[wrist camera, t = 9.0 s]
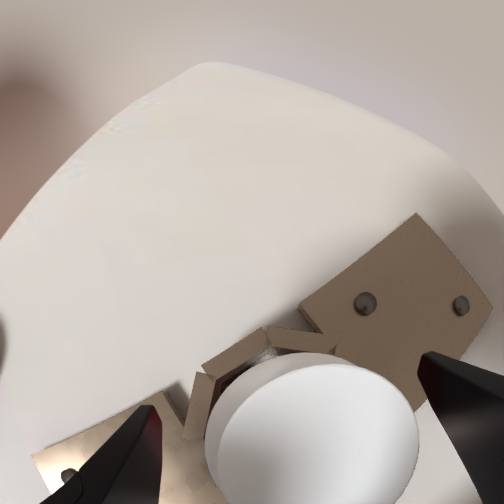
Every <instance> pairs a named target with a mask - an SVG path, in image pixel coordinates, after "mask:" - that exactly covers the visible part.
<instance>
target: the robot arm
mask: <svg viewBox="0 0 504 504" xmlns="http://www.w3.org/2000/svg"><path fill="white" fill-rule="evenodd" d="M417 376H418V379H419V381H420V383H421V385H422V387H423V390H424V392H425V394H426V396H427V398H428V400H429V403H430V405H431V407H432V409H433V411H434V413H435V414H436V416H437V418H438V419H439V421H440V423H441V424H442V426H443V428H444V430H445V431H446V433H447V435H448V437H449V438H450V440H451V442H452V444H453V446H454V447H455V449H456V451H457V453H458V455H459V457H460V458H461V460H462V462H463V464H464V466H465V468H466V470H467V472H468V474H469V476H470V478H471V479H472V481H473V483H474V485H475V487H476V489H477V492H478V494H479V496H480V498H481V500H482V502H483V504H504V376H502V375H499V374H496V373H494V372H491V371H488V370H485V369H482V368H479V367H476V366H473V365H471V364H468V363H465V362H462V361H459V360H457V359H454V358H451V357H448V356H445V355H443V354H440V353H437V352H434V351H429V352H426V353H424V354H422V356H421V358H420V362H419V366H418V370H417ZM162 461H163V458H162V421H161V419H160V417H159V415H158V412H157V410H156V408H155V406H154V405H153V404H141V405H140V406H139V407H138V408H137V409H136V410H135V411H134V412H133V413H132V414H131V415H130V416H129V417H128V418H127V419H126V421H125V422H124V423H123V424H122V425H121V426H120V427H119V428H118V429H117V430H116V431H115V432H114V433H113V434H112V435H111V436H110V437H109V438H108V440H107V441H106V442H105V443H104V444H103V445H102V446H101V447H100V448H99V449H98V450H97V451H96V452H95V453H94V454H93V455H92V456H91V457H90V458H89V459H88V460H87V461H86V462H85V463H84V464H83V465H82V466H81V467H80V469H79V471H76V472H75V474H74V475H73V476H72V477H71V478H70V479H68V480H67V481H66V482H65V483H64V484H63V485H62V486H61V487H60V488H59V489H57V490H56V491H55V492H54V493H53V494H51V495H50V496H49V497H48V498H46V499H45V500H44V501H42V502H41V503H40V504H159V495H160V485H161V475H162Z"/></svg>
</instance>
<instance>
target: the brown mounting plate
mask: <svg viewBox="0 0 504 504" xmlns="http://www.w3.org/2000/svg"><path fill="white" fill-rule="evenodd" d="M492 309H493V307H492V305H491V304H490V302H489V301H488V299H487V298H486V297H485V295H484V294H483V292H482V291H481V290H480V288H479V287H478V286H477V284H476V283H475V282H474V280H473V279H472V278H471V276H470V275H469V274H468V272H467V271H466V270H465V269H464V267H463V266H462V265H461V264H460V262H459V261H458V260H457V259H456V258H455V256H454V255H453V254H452V253H451V251H450V250H449V249H448V248H447V247H446V246H445V244H444V243H443V242H442V241H441V240H440V239H439V238H438V236H437V235H436V234H435V233H434V232H433V231H432V230H431V229H430V227H429V226H428V225H427V224H426V223H425V222H424V221H423V220H422V219H421V218H420V217H419V216H418V215H417V214H416V213H415V214H414V215H413V216H412V217H411V218H409V219H408V220H407V221H406V222H405V223H403V224H402V225H401V226H400V227H399V228H397V229H396V230H395V231H394V232H393V233H391V234H390V235H389V236H388V237H386V238H385V239H384V240H383V241H381V242H380V243H379V244H378V245H376V246H375V247H374V248H373V249H371V250H370V251H369V252H368V253H366V254H365V255H364V256H362V257H361V258H360V259H359V260H357V261H356V262H355V263H353V264H352V265H351V266H350V267H348V268H347V269H346V270H344V271H343V272H342V273H340V274H339V275H338V276H336V277H335V278H334V279H332V280H331V281H330V282H328V283H327V284H326V285H324V286H323V287H321V288H320V289H319V290H317V291H316V292H315V293H313V294H312V295H310V296H309V297H308V298H306V299H305V300H303V301H302V302H301V303H300V304H299V306H298V310H299V311H300V312H301V314H302V315H303V316H304V317H305V319H306V320H307V321H308V322H309V324H310V325H311V326H312V328H313V329H314V330H315V331H316V333H313V332H306V331H299V330H292V329H286V328H280V327H273V326H268V331H267V335H266V334H265V332H264V331H263V329H262V328H259V329H258V330H256V331H254V332H253V333H251V334H250V335H248V336H247V337H245V338H244V339H242V340H241V341H239V342H238V343H236V344H234V345H233V346H231V347H230V348H228V349H227V350H225V351H223V352H222V353H220V354H219V355H217V356H215V357H214V358H212V359H211V360H209V361H207V362H206V363H204V364H202V365H201V366H202V368H203V369H204V371H205V372H206V374H205V373H201V372H196V376H195V380H194V385H193V389H192V394H191V398H190V403H189V407H188V412H187V417H186V421H184V420H183V418H182V417H181V415H180V413H179V412H178V410H177V409H176V407H175V406H174V404H173V402H172V401H171V399H170V398H169V396H168V394H167V393H166V392H163V391H161V392H159V393H157V394H155V395H153V396H152V397H150V398H148V399H146V400H144V401H143V402H141V403H139V404H137V405H135V406H133V407H131V408H130V409H128V410H126V411H124V412H122V413H120V414H118V415H116V416H114V417H112V418H110V419H108V420H106V421H104V422H102V423H100V424H98V425H96V426H94V427H92V428H90V429H88V430H86V431H84V432H82V433H80V434H78V435H75V436H73V437H71V438H69V439H67V440H65V441H62V442H60V443H58V444H56V445H53V446H51V447H49V448H47V449H44V450H42V451H39V452H37V453H35V454H32V455H31V456H32V458H33V460H34V462H35V464H36V466H37V468H38V470H39V472H40V474H41V476H42V477H43V479H44V481H45V483H46V485H47V486H48V488H49V490H50V492H51V493H52V494H53V493H54V492H55V491H56V490H57V489H59V488H60V487H61V486H62V485H63V484H64V483H65V482H66V481H67V480H68V479H70V478H71V477H72V476H73V475H74V474H75V472H76V471H79V469H80V467H81V466H82V465H83V464H84V463H85V462H86V461H87V460H88V459H89V458H90V457H91V456H92V455H93V454H94V453H95V452H96V451H97V450H98V449H99V448H100V447H101V446H102V445H103V444H104V443H105V442H106V441H107V440H108V438H109V437H110V436H111V435H112V434H113V433H114V432H115V431H116V430H117V429H118V428H119V427H120V426H121V425H122V424H123V423H124V422H125V421H126V419H127V418H128V417H129V416H130V415H131V414H132V413H133V412H134V411H135V410H136V409H137V408H138V407H139V406H140V405H141V404H153V405H154V406H155V408H156V410H157V412H158V415H159V417H160V419H161V421H162V458H163V461H162V475H161V485H160V495H159V504H228V503H227V501H226V500H225V498H224V496H223V494H222V492H221V490H220V489H219V487H218V486H217V485H216V483H215V481H214V479H213V477H212V475H211V473H210V471H209V467H208V464H207V460H206V455H205V433H206V428H207V423H208V420H209V417H210V415H211V412H212V410H213V408H214V406H215V404H216V403H217V401H218V399H219V396H220V391H221V386H222V383H223V382H225V381H226V380H228V379H229V378H231V377H233V376H234V375H236V374H237V373H239V372H240V371H242V370H244V369H245V368H247V367H248V366H250V365H251V364H253V363H254V362H256V361H257V360H259V359H260V358H262V357H263V356H265V355H266V354H268V355H274V356H283V355H287V354H294V353H321V354H328V355H332V356H335V357H339V358H342V359H344V360H346V361H349V362H351V363H352V364H354V365H356V366H358V367H362V368H365V369H368V370H370V371H373V372H375V373H377V374H379V375H381V376H382V377H384V378H386V379H387V380H388V381H390V382H391V383H392V384H393V385H394V386H395V387H396V388H397V389H398V390H399V391H400V392H401V393H402V394H403V395H404V397H405V398H406V399H407V401H408V402H409V404H410V406H411V408H412V410H413V412H415V411H416V410H417V409H418V408H419V407H420V406H421V405H422V404H423V403H424V402H425V401H426V399H427V396H426V394H425V392H424V390H423V387H422V385H421V383H420V381H419V379H418V376H417V370H418V366H419V362H420V358H421V356H422V354H424V353H426V352H429V351H434V352H437V353H440V354H443V355H445V356H448V357H451V358H454V359H457V360H459V359H460V358H461V356H462V355H463V354H464V352H465V351H466V349H467V348H468V346H469V345H470V344H471V342H472V341H473V339H474V338H475V336H476V335H477V333H478V332H479V330H480V329H481V327H482V325H483V324H484V322H485V321H486V319H487V317H488V316H489V314H490V312H491V311H492Z"/></svg>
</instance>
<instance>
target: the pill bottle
mask: <svg viewBox="0 0 504 504" xmlns="http://www.w3.org/2000/svg"><path fill="white" fill-rule="evenodd" d="M418 452H419V430H418V426H417V421H416V418H415V415H414V412H413V410H412V408H411V406H410V404H409V402H408V401H407V399H406V398H405V397H404V395H403V394H402V393H401V392H400V391H399V390H398V389H397V388H396V387H395V386H394V385H393V384H392V383H391V382H390V381H388V380H387V379H386V378H384V377H382V376H381V375H379V374H377V373H375V372H373V371H370V370H368V369H365V368H362V367H358V366H356V365H354V364H352V363H351V362H349V361H346V360H344V359H342V358H339V357H335V356H332V355H328V354H321V353H294V354H287V355H283V356H278V357H275V358H272V359H269V360H266V361H264V362H262V363H260V364H258V365H256V366H254V367H252V368H250V369H249V370H247V371H246V372H244V373H243V374H242V375H240V376H239V377H238V378H237V379H235V380H234V381H233V382H232V383H231V384H230V385H229V386H228V387H227V388H226V390H225V391H224V392H223V394H222V395H221V396H220V398H219V399H218V401H217V403H216V404H215V406H214V408H213V410H212V412H211V415H210V417H209V420H208V423H207V428H206V433H205V455H206V460H207V464H208V467H209V471H210V473H211V475H212V477H213V479H214V481H215V483H216V485H217V486H218V487H219V489H220V490H221V492H222V494H223V496H224V498H225V500H226V501H227V503H228V504H394V503H395V502H396V501H397V500H398V499H399V497H400V496H401V495H402V493H403V492H404V490H405V488H406V487H407V485H408V483H409V481H410V479H411V477H412V475H413V472H414V470H415V466H416V463H417V459H418Z"/></svg>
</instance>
